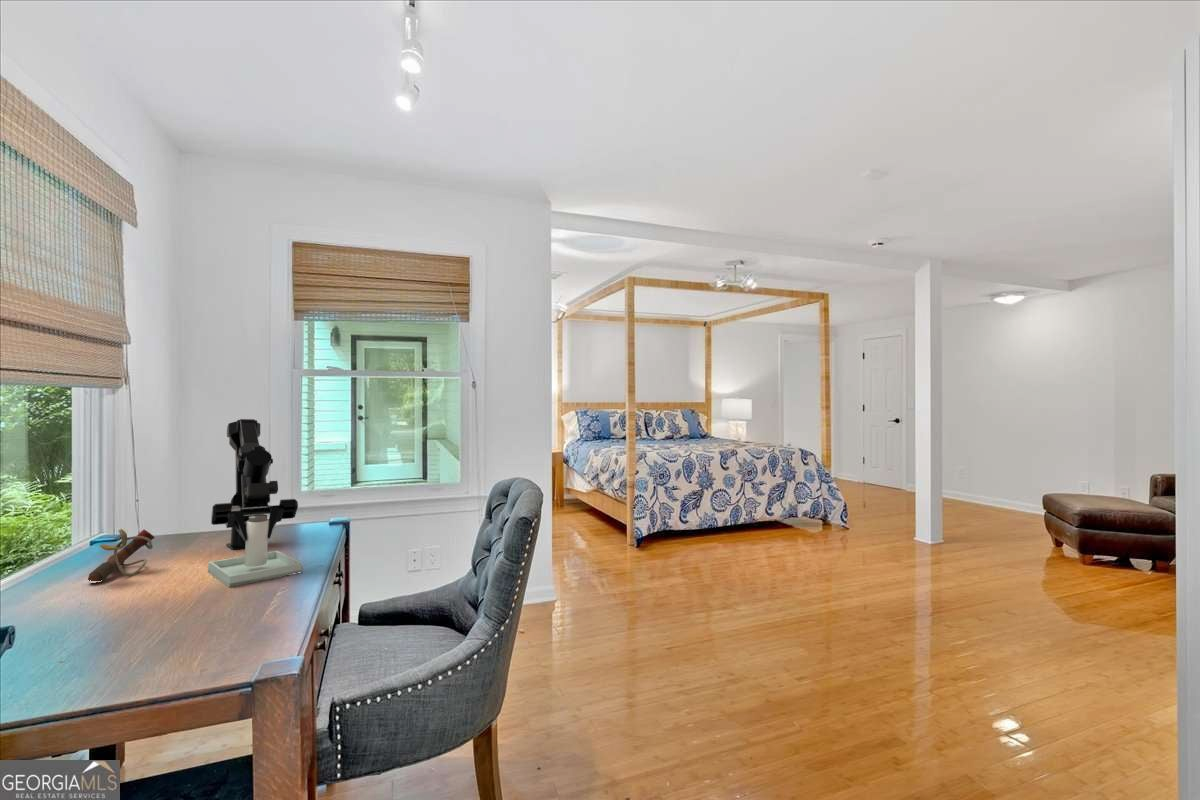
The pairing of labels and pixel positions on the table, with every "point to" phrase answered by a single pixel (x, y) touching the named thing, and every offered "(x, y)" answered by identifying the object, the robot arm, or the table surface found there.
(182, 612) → the table surface
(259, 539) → the jar with lid
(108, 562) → the slingshot
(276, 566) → the bin
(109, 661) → the table surface
